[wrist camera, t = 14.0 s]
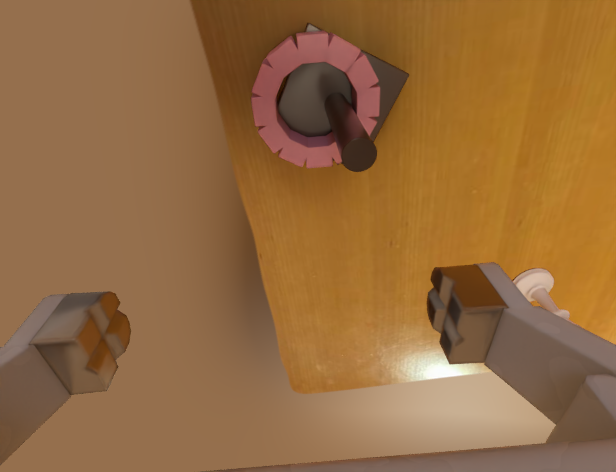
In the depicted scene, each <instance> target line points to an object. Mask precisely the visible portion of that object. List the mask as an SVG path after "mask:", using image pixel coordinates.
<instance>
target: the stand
mask: <svg viewBox="0 0 616 472" xmlns="http://www.w3.org/2000/svg"><path fill="white" fill-rule="evenodd" d="M316 31H324V30H322V29H320V28H318V27H316V26H314V25H312V24H310V23H307V26H306V29H305V31H304V32H316ZM325 32H326V31H325ZM327 33H328V32H327ZM329 34H330V33H328V36H329ZM360 50H361V49H360ZM360 52H362V53H363V54H365V55H366V57H367V59H368V61H369V63H370V64H371V66H372V68H373V70H374V72H375V74H376V76H377V78H378V80H379V81H378V82H377V83H376V84H377V85H378V86H379V87H380V110H379V116H378V117H374V118H375V119H376V121H377V124H376V126H375V127H374V129H373V131H372V133H371V134H370V136H369V135H368V133H367V131H366V130H365V128H364V126H363V125H362V123H361V121H360V120H359V118H358V117H357V115H356V113H355V112H354V110H353V108H352V86H351V84H350V82H349V81H348V79H347V77H346V75H345V74H344V72H343V71H341V70H339V69H338V68H336V67H334V66H332V65H330V64H328V63H326V62H319V63H307V64H302V65H300V66H299V67H298V68H296V69H295V70H294V71H292V72H291V73H290V74H288V77H287V80H286V83H285V85H284V88H283V91H282V93H281V96H280V99H279V101H278V113H279V114H280V116H281V117H282V119H283V120H284V121H285V123H286V124H287V126H288V127H289V128H290V129H291V130H293V131H295V132H297V133H299V134H301V135H303V136H305V137H316V136H326V135H328V134H329V133H331V132H333V135H334V138H335V141H336V144H337V147H338V151H339V154H340V157H341V160H342V162H341V163H342V164H344V166H345V167H346V168H347V169H349V170H351V171H354V172H361V171H364V170H367V169H368V168H370V167H371V166H372V165H373V163H374V162H375V160H376V156H377V150H376V147H375V145H374V143H373V142H374V140H375V138H376V136H377V134H378V132H379V130H380V129H381V127H382V125H383V123H384V121H385V119H386V117H387V116H388V114H389V112H390V110H391V108H392V106H393V104H394V103H395V101H396V99H397V97H398V95H399V93H400V91H401V90H402V88H403V86H404V84H405V82H406V80H407V78H408V77H409V74H408V73H406V72H405V71H403V70H401V69H399V68H397V67H395V66H393V65H391V64H389V63H387V62H385V61H383V60H381V59H379V58H377V57H375V56H373V55H371V54H369V53H367V52H365V51H363V50H361V51H360ZM332 160H334V159H333V157H332ZM334 161H335V160H334Z"/></svg>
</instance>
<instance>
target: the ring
mask: <svg viewBox="0 0 616 472" xmlns="http://www.w3.org/2000/svg"><path fill="white" fill-rule="evenodd" d="M296 39H297V44H296V43H295V41H294V39H293V38H292V36H289V37H288V38H287V39H286V40H284V41H283V42H282V43H281V44H279V45H278V46H277V47H275V48H274V49H273V50H272V51H270V52H269V53H268V55H267V57H266V58H265V59H264V60H263V62H262V65H261V67H260V70H259V73H258V75H257V78H256V81H255V83H254V86H253V89H252V93H253V95H252V97H251V103H252V109H253V116H254V122H255V126H256V127H259V129H258V133H259V135H260V136H261V137H262V139H263V140H264V141H265V143H266V144H267V145H268V146H269V148H270V149H271V150H272V152H273V153H276V152H277V151H279V155H278V157H280V158H282V159H284V160H287V161H289V162H291V163H293V164H296V165H298V166H300V167H302V166H303V164H304V162H305V160H306V165H307V168H316V167H328V166H333V161H332V157H333V159H334V160H335V162H336V163H337V164H339V163H341V162H342V160H341V157H340V154H339V151H338V147H337V144H336V141H335V138H334V135H333V132H331V133H329V134H328V135H326V136H316V137H305V136H303V135H301V134H299V133H297V132H295V131H293V130H291V129H290V128H289V127H288V126H287V124H286V123H285V121H284V120H283V119H282V117H281V116H280V114H279V113H278V104H277V93H278V91H279V88H280V86H281V84H282V81H283V79H284V77H286V76H287V75H288V74H290V73H291V72H292V71H294V70H295V69H296V68H298V67H299V66H300V65H302V64H307V63H319V62H326V63H328V64H330V65H332V66H334V67H336V68H338V69H339V70H341V71H343V72H344V74H345V75H346V77H347V79H348V81H349V82H350V84H351V86H352V108H353V110H354V112H355V113H356V115H357V117H358V118H359V120H360V121H361V123H362V125H363V126H364V128H365V130H366V131H367V133H368V135H369V136H370V134H371V133H372V131H373V129H374V127H375V126H376V124H377V121H376V119H375V118H374V117H378V116H379V110H380V87H379V86H378V85H377V84H376V83H377V82H378V81H379V80H378V78H377V76H376V74H375V72H374V70H373V68H372V66H371V64H370V63H369V61H368V59H367V57H366V55H365V54H363V53H362V52H360V51H361V50H360V49H359V48H357V47H356V46H354V45H352V44H351V43H349V42H347V41H345V40H344V39H342V38H340V37H338V36H337V35H335V34H333V33H331V32H330V34H329V36H328V33H327V32H325V31H316V32H304V33H296Z"/></svg>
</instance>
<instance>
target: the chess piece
mask: <svg viewBox="0 0 616 472" xmlns="http://www.w3.org/2000/svg"><path fill="white" fill-rule="evenodd" d="M513 283H514V284H515V285H516V287H517V288H518V289H519V290H520V291H521V293H522V294H523V295H524V296H525V297H526V299H527V300H528V301H529V302H530V301H535V300H536V301H537V302H538V303H539V304H540V305H541V306H542V307H543V308H545V309H546V310H548V311H550V312H552V313H554V314H556V315H558V316H560V317H562V318H564V319H566V320H567V321H569V322H571V323H573V322H572V321H570V320H568V319H569V317H570V314H569V312H568V311H567V310H559V309H558V307H557V306H556V305H555V303H554V302H553V300H552V299H551V297H550V296H549V294H548V293H549V291H550V290H551V289H552V287H553V284H554V279H553V277H552V276H551V274H550V273H549V272H548V271H547V270H545V269H540V268H536V269H531V270H528V271H525V272H523V273H521V274H520V275H519V276H517V277H516V278H515V279H514V281H513ZM573 324H575V323H573ZM575 325H577V324H575ZM577 326H579V325H577ZM579 327H580V326H579ZM581 328H582V327H581Z"/></svg>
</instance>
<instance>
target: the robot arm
mask: <svg viewBox="0 0 616 472" xmlns="http://www.w3.org/2000/svg"><path fill="white" fill-rule="evenodd" d="M431 282H432V284H433V286H434V287H433V288H432V289H431V290H430V291H429V292H428V297H427V312H428V316H429V320H430V322H431V325H432V327H433V329H435V330H436V331H438V332H439V333H441V337H440V345H441V347H442V349H443V351H444V353H445V355H446V358H447V360H448V362H449V364H465V363H484V362H485V363H484V364H485V365H486V366H487V367H488V368H489V369H491V370H492V371H493V372H494V373H495V374H497V375H498V376H499V377H500V378H501V379H503V380H504V381H505V382H506V383H507V384H508V385H510V386H511V387H512V388H513V389H515V391H517V392H518V393H519V394H520V395H522V396H523V397H524V398H525V399H526V400H527V401H529V402H530V403H531V404H532V405H533V406H534V407H536V408H537V409H538V410H539V411H540V412H542V413H543V414H544V415H545V416H546V417H548V418H549V419H550V420H551V421H552V422H553V423H555V424H556V426H555V428H554V429H553V431H552V432H551V434H550V436H549V437H548V439H547V441H546V443H544V444H532V445H519V446H507V447H495V448H483V449H471V450H459V451H446V452H435V453H422V454H411V455H410V454H409V455H397V456H385V457H373V458H360V459H348V460H336V461H324V462H311V463H300V464H288V465H275V466H263V467H251V468H238V469H227V470H214V471H202V472H616V345H615V344H613V343H611V342H609V341H607V340H605V339H603V338H601V337H599V336H597V335H595V334H593V333H591V332H589V331H587V330H585V329H583V328H581V327H579V326H577V325H575V324H573V323H571V322H569V321H567V320H566V319H564V318H562V317H560V316H558V315H556V314H554V313H552V312H550V311H548V310H546V309H544V308H542V307H540V306H536V307H533V306H532V305H531V303H530V302H529V301H528V300H527V299H526V297H525V296H524V295H523V294H522V293H521V291H520V290H519V289H518V288H517V287H516V285H515V284H514V283H513V282H512V280H511V279H510V278H509V277H508V276H507V274H506V273H505V272H504V271H503V270H502V268H501V267H500V266H499V265H498V264H496V263H494V262H490V263H480V264H473V265H461V266H449V267H436V268H434V270H433V271H432V275H431ZM119 305H120V301H119V299H118V298H117V296H116V294H115V293H113V292H91V293H71V294H59V295H50V296H47V297H45V298H44V299H43V300H42V301H41V302H40V303H39V304H38V306H37V307H36V308H35V309H34V310H33V312H32V313H31V314H30V315H29V316H28V318H27V319H26V320H25V321H24V323H23V324H22V325H21V326H20V327H19V328H18V330H17V331H16V332H15V333H14V335H13V336H12V337H11V338H10V339H9V340H8V342H7V343H6V344H5V345H4V347H0V465H1V464H2V463H3V462H4V461H5V460H6V459H7V458H8V457H9V456H10V455H11V454H12V453H13V452H14V451H16V450H17V448H19V447H20V446H21V445H22V444H23V443H24V442H25V441H26V440H27V439H28V438H29V437H30V436H31V435H32V434H33V433H34V432H35V431H36V430H37V429H38V428H39V427H40V426H41V425H42V424H43V423H45V421H47V419H49V418H50V417H51V416H52V415H53V414H54V413H55V412H56V411H57V410H58V409H59V408H60V407H61V406H62V405H63V404H64V403H65V402H66V401H67V400H68V399H69V398H70V397H71V395H74V394H83V393H93V392H102V391H107V390H108V388H109V386H110V383H111V381H112V379H113V377H114V375H115V373H116V371H117V368H118V365H117V362H116V359H117V358H118V357H119V356H121V355H122V354H123V353H124V352H125V351H126V349H127V346H128V344H129V341H130V334H131V329H130V323H129V321H128V318H127V316H126V315H125V314H123V313H122V312H120V311H119V310H117V309H118V307H119Z"/></svg>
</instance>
